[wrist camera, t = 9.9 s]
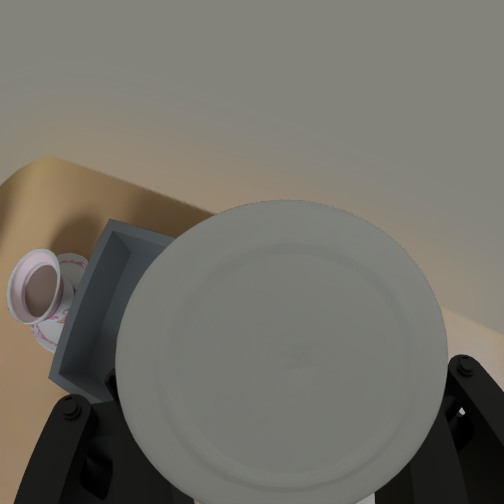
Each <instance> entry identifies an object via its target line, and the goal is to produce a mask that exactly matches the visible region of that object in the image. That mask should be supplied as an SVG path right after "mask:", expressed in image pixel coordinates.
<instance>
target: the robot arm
mask: <svg viewBox="0 0 504 504" xmlns="http://www.w3.org/2000/svg"><path fill="white" fill-rule="evenodd" d="M104 383H105V385H106V387H107V388H108V390H109V392H110V394H111V395H112V397H113V399H114V400H112V401H108V402H101V403H94V404H90V402H89V401H88V400H87V399H86V397H84V396H82V395H80V394H70V395H67V396H64V397H63V398H61V399H60V400H59V401H58V402H57V403H56V405H55V406H54V408H53V410H52V412H51V414H50V416H49V418H48V420H47V422H46V424H45V426H44V429H43V431H42V433H41V435H40V437H39V439H38V442H37V444H36V446H35V448H34V451H33V453H32V455H31V458H30V460H29V463H28V465H27V468H26V470H25V473H24V476H23V478H22V481H21V484H20V486H19V489H18V492H17V495H16V498H15V501H14V504H194V500H193V498H191V497H190V496H188V495H186V494H185V493H183V492H182V491H180V490H179V489H178V488H176V487H175V486H174V485H173V484H171V483H170V482H169V481H168V480H167V479H166V478H164V477H163V476H162V475H161V473H160V472H159V471H158V470H157V469H156V468H155V467H154V466H153V465H152V464H151V462H150V461H149V460H148V458H147V457H146V456H145V454H144V453H143V451H142V450H141V448H140V447H139V445H138V444H137V442H136V441H135V439H134V437H133V435H132V433H131V431H130V429H129V427H128V424H127V422H126V420H125V417H124V414H123V410H122V407H121V403H120V399H119V396H118V389H117V380H116V370H115V368H113V369H112V370H111V371H110V372H109V373H108V374H107V375H106V378H105V380H104ZM461 407H462V408H463V410H464V411H465V414H464V415H462V414H461V413H460V412H459V410H460V409H461ZM374 493H375V504H504V392H503V391H502V389H501V388H500V387H499V386H498V384H497V383H496V382H495V381H494V380H493V378H492V377H491V376H490V375H489V374H488V373H487V371H486V370H485V369H484V368H483V367H482V366H481V365H480V363H479V362H478V361H476V360H475V359H474V358H472V357H470V356H468V355H456V356H454V357H453V358H451V360H450V362H449V364H448V369H447V378H446V384H445V389H444V394H443V399H442V402H441V405H440V408H439V411H438V414H437V416H436V419H435V421H434V423H433V425H432V427H431V429H430V431H429V433H428V434H427V436H426V438H425V440H424V442H423V443H422V445H421V446H420V448H419V449H418V451H417V452H416V454H415V455H414V456H413V457H412V458H411V460H410V461H409V462H408V463H407V464H406V465H405V466H404V468H403V469H402V470H401V471H400V472H399V473H398V474H397V475H396V476H394V477H393V478H392V479H391V480H390V481H389V482H388V483H386V484H385V485H384V486H382V487H381V488H380V489H378V490H377V491H375V492H374Z"/></svg>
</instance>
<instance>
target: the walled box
mask: <svg viewBox="0 0 504 504" xmlns="http://www.w3.org/2000/svg"><path fill="white" fill-rule="evenodd" d="M175 239H176V238H175V237H171V236H168V235H164V234H161V233H157V232H154V231H150V230H147V229H144V228H140V227H137V226H133V225H130V224H126V223H123V222H120V221H116V220H113V219H109V221H108V222H107V224H106V226H105V228H104V230H103V232H102V234H101V236H100V238H99V240H98V242H97V245H96V247H95V249H94V251H93V253H92V255H91V257H90V260H89V262H88V264H87V266H86V269H85V271H84V273H83V276H82V278H81V280H80V283H79V285H78V288H77V290H76V293H75V295H74V298H73V301H72V303H71V306H70V309H69V311H68V314H67V317H66V320H65V323H64V326H63V329H62V332H61V335H60V338H59V341H58V345H57V348H56V351H55V355H54V358H53V362H52V366H51V369H50V373H49V377H48V378H49V379H50V380H51V381H53V382H54V383H56V384H57V385H58V386H60V387H61V388H63V389H64V390H66V391H67V392H69V393H70V394H80V395H82V396H84V397H86V399H87V400H88V401H89V402H90V404H94V403H101V402H108V401H112V400H114V399H113V397H112V395H111V394H110V392H109V390H108V388H107V387H106V385H105V383H104V380H105V378H106V375H107V374H108V373H109V372H110V371H111V370H112V369H113V368H115V357H116V348H117V338H118V333H119V329H120V325H121V321H122V318H123V315H124V312H125V309H126V307H127V304H128V302H129V300H130V297H131V295H132V293H133V291H134V290H135V288H136V286H137V284H138V282H139V281H140V279H141V278H142V276H143V275H144V273H145V271H146V270H147V269H148V268H149V266H150V265H151V264H152V262H153V261H154V260H155V259H156V258H157V257H158V256H159V255H160V254H161V253H162V252H163V251H164V250H165V249H166V248H167V247H168V246H169V245H170V244H171V243H172V242H173V241H174V240H175Z"/></svg>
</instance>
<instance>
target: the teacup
mask: <svg viewBox="0 0 504 504" xmlns="http://www.w3.org/2000/svg"><path fill="white" fill-rule="evenodd" d="M88 262H89V261H88V260H87V259H85V258H84V257H83V256H81V255H77V254H74V253H66V254H60V255H58V256H56V255H55V254H54V253H53V252H52V251H50V250H49V249H45V248H39V249H35V250H32V251H31V252H29V253H27V254H26V255H25V256H24V257H23V258H22V259H21V260H20V261H19V262H18V264H17V265H16V266H15V268H14V270H13V272H12V274H11V276H10V279H9V283H8V287H7V304H8V310H9V311H10V313H11V315H12V316H13V317H14V318H15V319H16V320H17V321H18V322H20V323H22V324H29V325H30V327H31V330H32V332H33V335H34V337H35V338H36V339H37V340H38V342H39V343H40V344H41V345H42V346H43V347H44V348H46V349H48V350H49V351H51V352H53V353H55V351H56V348H57V345H58V341H59V338H60V335H61V332H62V329H63V326H64V323H65V322H64V323H59V322H57V321H60V320H62V319H63V318H65V317H66V316H67V314H68V311H69V309H70V306H71V303H72V301H73V298H74V289H73V287H74V288H75V290H77V288H78V285H79V283H80V280H81V278H82V276H83V273H84V271H85V269H86V266H87V264H88Z"/></svg>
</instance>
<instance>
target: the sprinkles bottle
mask: <svg viewBox="0 0 504 504" xmlns="http://www.w3.org/2000/svg"><path fill="white" fill-rule="evenodd" d="M447 369H448V345H447V335H446V330H445V324H444V320H443V316H442V313H441V309H440V307H439V304H438V302H437V299H436V297H435V294H434V292H433V290H432V288H431V286H430V284H429V282H428V280H427V278H426V277H425V275H424V273H423V272H422V271H421V269H420V268H419V266H418V265H417V264H416V263H415V261H414V260H413V259H412V258H411V256H410V255H409V254H408V253H407V251H406V250H405V249H404V248H402V247H401V246H400V245H399V244H398V243H397V242H396V241H395V240H394V239H393V238H391V237H390V236H389V235H388V234H386V233H385V232H384V231H382V230H381V229H380V228H378V227H376V226H375V225H373V224H372V223H370V222H368V221H367V220H365V219H363V218H361V217H359V216H356V215H354V214H352V213H350V212H348V211H345V210H342V209H338V208H335V207H331V206H328V205H323V204H319V203H314V202H308V201H296V200H274V201H262V202H257V203H251V204H246V205H243V206H239V207H236V208H232V209H229V210H227V211H224V212H221V213H219V214H216V215H214V216H212V217H210V218H208V219H206V220H204V221H202V222H200V223H198V224H197V225H195V226H193V227H192V228H190V229H189V230H187V231H186V232H184V233H183V234H182V235H180V236H179V237H178V238H176V239H175V240H174V241H173V242H172V243H171V244H170V245H169V246H168V247H167V248H166V249H165V250H164V251H163V252H162V253H161V254H160V255H159V256H158V257H157V258H156V259H155V260H154V261H153V262H152V264H151V265H150V266H149V268H148V269H147V270H146V271H145V273H144V275H143V276H142V278H141V279H140V281H139V282H138V284H137V286H136V288H135V290H134V291H133V293H132V295H131V297H130V300H129V302H128V304H127V307H126V309H125V312H124V315H123V318H122V321H121V325H120V329H119V333H118V338H117V348H116V357H115V370H116V380H117V389H118V396H119V399H120V403H121V407H122V410H123V414H124V417H125V420H126V422H127V424H128V427H129V429H130V431H131V433H132V435H133V437H134V439H135V441H136V442H137V444H138V445H139V447H140V448H141V450H142V451H143V453H144V454H145V456H146V457H147V458H148V460H149V461H150V462H151V464H152V465H153V466H154V467H155V468H156V469H157V470H158V471H159V472H160V473H161V475H162V476H163V477H164V478H166V479H167V480H168V481H169V482H170V483H171V484H173V485H174V486H175V487H176V488H178V489H179V490H180V491H182V492H183V493H185V494H186V495H188V496H190V497H191V498H193V499H195V500H196V501H198V502H200V503H202V504H355V503H357V502H359V501H361V500H362V499H364V498H366V497H368V496H369V495H371V494H372V493H374V492H375V491H377V490H378V489H380V488H381V487H382V486H384V485H385V484H386V483H388V482H389V481H390V480H391V479H392V478H393V477H394V476H396V475H397V474H398V473H399V472H400V471H401V470H402V469H403V468H404V466H405V465H406V464H407V463H408V462H409V461H410V460H411V458H412V457H413V456H414V455H415V454H416V452H417V451H418V449H419V448H420V446H421V445H422V443H423V442H424V440H425V438H426V436H427V434H428V433H429V431H430V429H431V427H432V425H433V423H434V421H435V419H436V416H437V414H438V411H439V408H440V405H441V402H442V399H443V394H444V389H445V384H446V378H447Z"/></svg>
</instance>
